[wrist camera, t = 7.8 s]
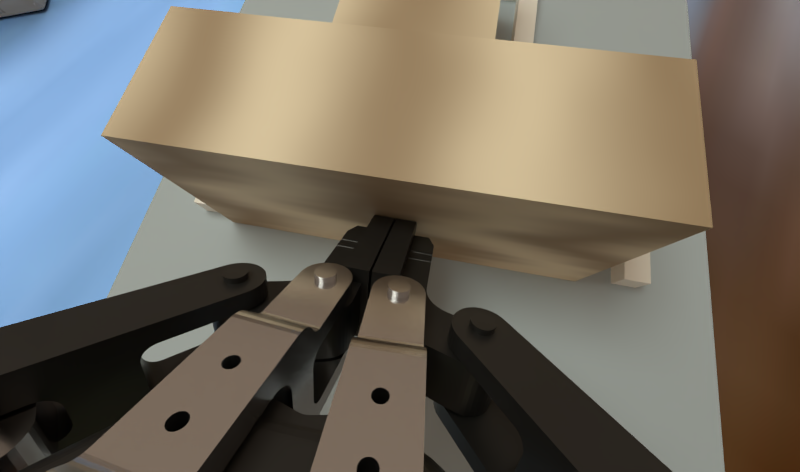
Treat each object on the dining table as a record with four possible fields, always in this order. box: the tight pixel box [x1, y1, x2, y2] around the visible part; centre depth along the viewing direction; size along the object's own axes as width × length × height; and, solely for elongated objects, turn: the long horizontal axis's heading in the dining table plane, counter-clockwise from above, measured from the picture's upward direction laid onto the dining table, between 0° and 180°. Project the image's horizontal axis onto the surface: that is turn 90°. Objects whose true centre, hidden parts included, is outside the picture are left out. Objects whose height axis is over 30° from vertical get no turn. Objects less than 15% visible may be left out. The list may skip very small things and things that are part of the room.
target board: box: [107, 0, 725, 472], centre depth 16 cm, size 26×32×2 cm
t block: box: [101, 0, 713, 281], centre depth 14 cm, size 16×15×7 cm
